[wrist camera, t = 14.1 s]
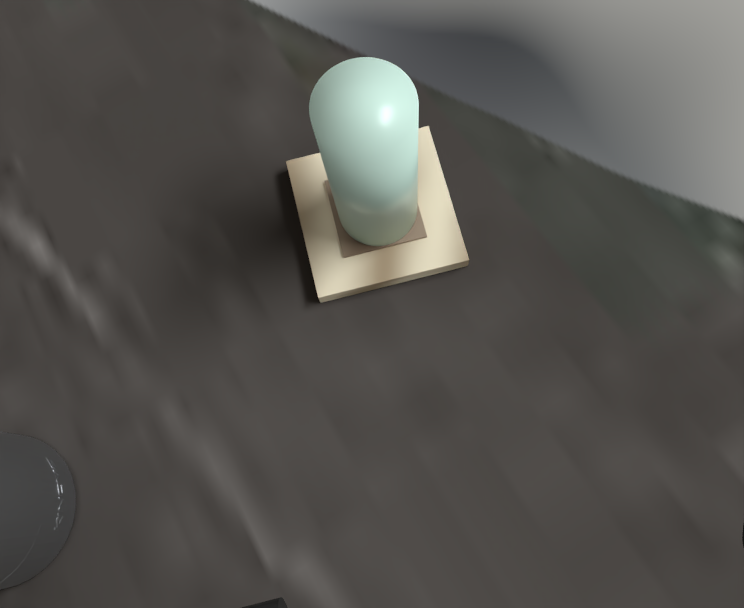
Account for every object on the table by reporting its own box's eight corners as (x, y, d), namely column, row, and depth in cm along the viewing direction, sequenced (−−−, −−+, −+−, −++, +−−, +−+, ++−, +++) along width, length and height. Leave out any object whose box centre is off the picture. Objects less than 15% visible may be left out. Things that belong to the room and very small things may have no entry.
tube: (350, 255, 44) (325, 169, 32) (329, 184, 46) (296, 74, 33) (427, 232, 44) (432, 137, 32) (403, 162, 46) (400, 44, 33)
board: (320, 302, 45) (317, 297, 44) (288, 169, 48) (285, 159, 46) (467, 265, 45) (469, 259, 44) (427, 134, 48) (428, 124, 46)
